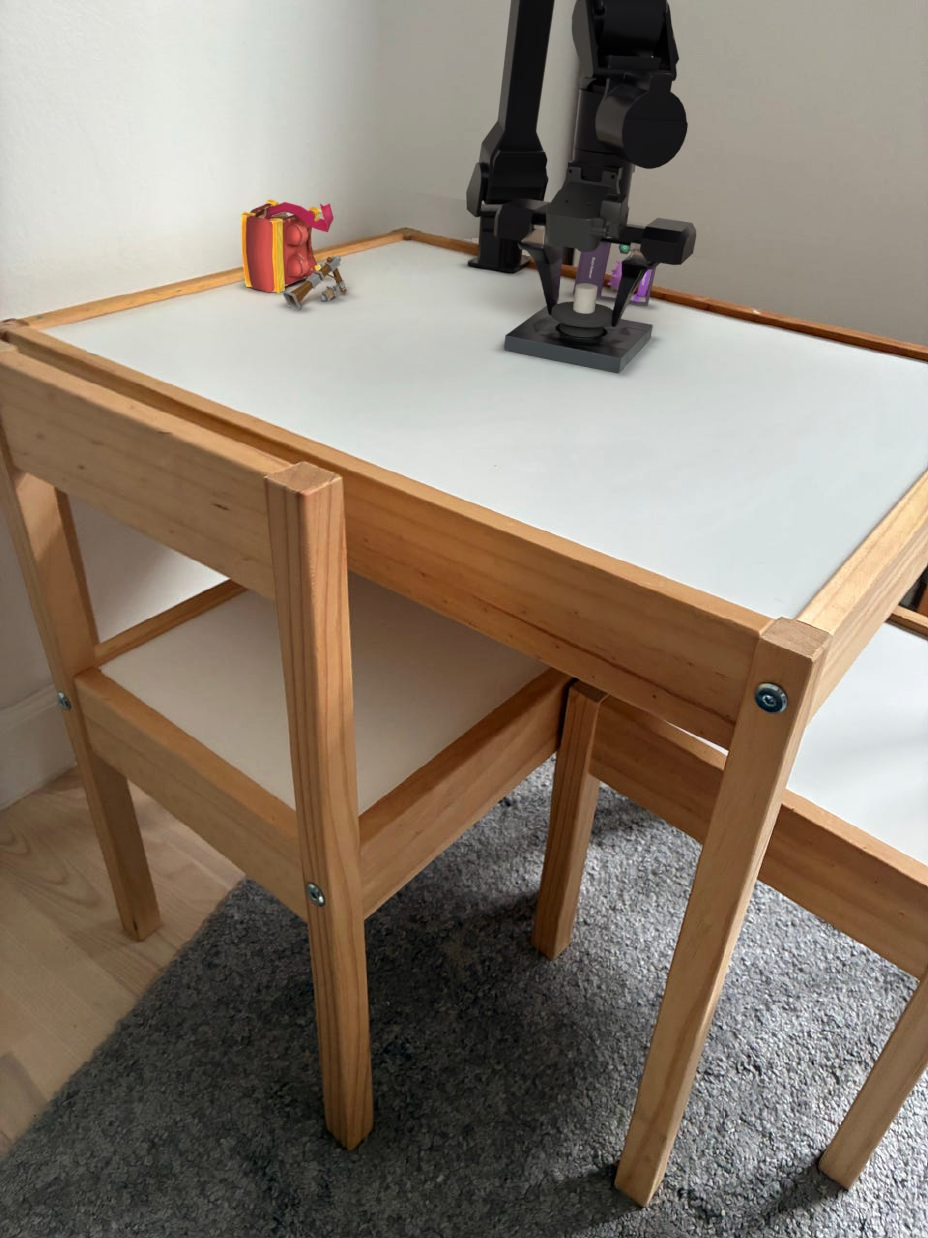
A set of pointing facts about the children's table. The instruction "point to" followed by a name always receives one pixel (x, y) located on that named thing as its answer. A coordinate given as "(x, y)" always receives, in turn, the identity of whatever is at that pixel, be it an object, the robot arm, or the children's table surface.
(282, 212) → the book monster
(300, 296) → the toy blunderbuss
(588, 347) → the sink plate
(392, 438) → the children's table surface
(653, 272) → the game card
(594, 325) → the stopper
